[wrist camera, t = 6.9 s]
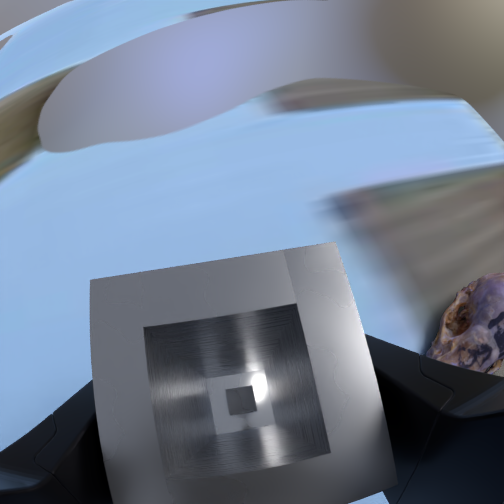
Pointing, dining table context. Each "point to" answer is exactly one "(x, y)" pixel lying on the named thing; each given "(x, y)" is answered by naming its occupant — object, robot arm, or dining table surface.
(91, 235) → the dining table surface
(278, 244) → the dining table surface
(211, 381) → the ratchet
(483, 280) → the skull
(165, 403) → the socket
